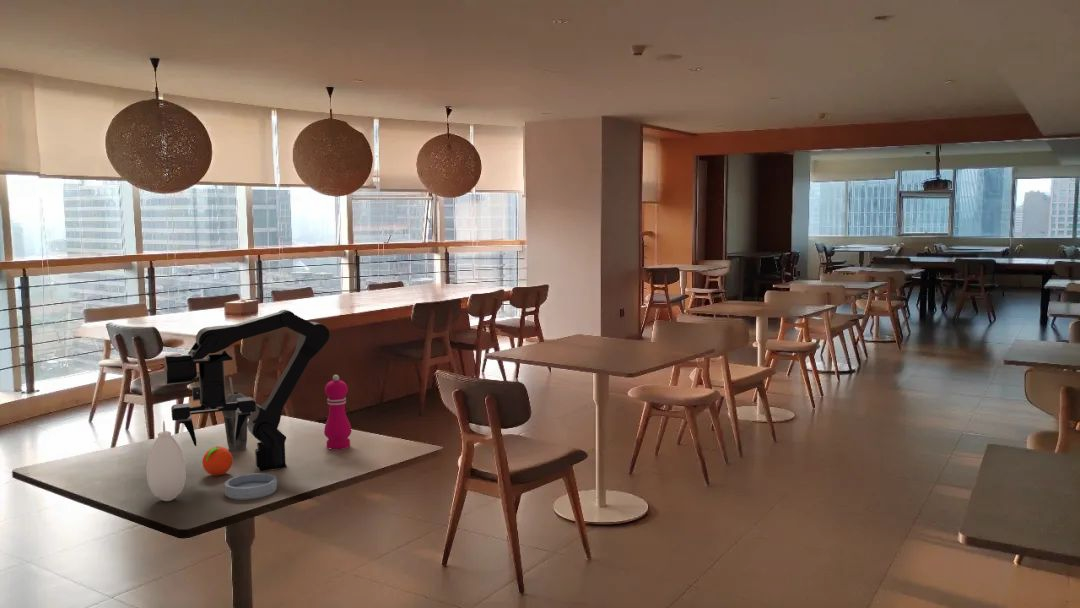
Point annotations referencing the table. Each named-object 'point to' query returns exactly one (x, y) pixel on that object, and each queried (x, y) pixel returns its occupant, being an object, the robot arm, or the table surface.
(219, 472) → the clementine
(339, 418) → the pepper mill
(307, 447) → the table surface
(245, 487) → the saucer
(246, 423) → the beverage cup
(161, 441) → the white tall egg-shaped piece
